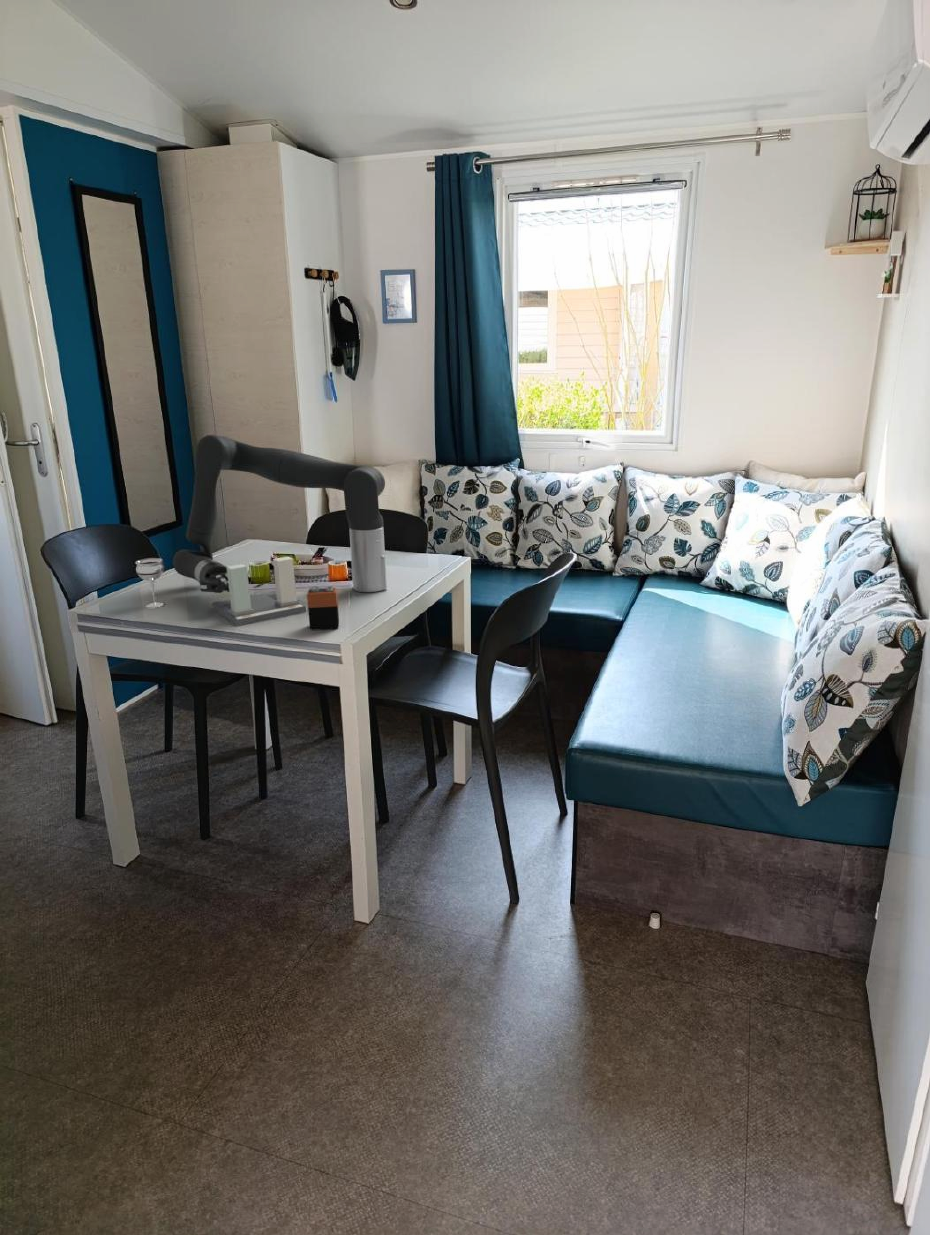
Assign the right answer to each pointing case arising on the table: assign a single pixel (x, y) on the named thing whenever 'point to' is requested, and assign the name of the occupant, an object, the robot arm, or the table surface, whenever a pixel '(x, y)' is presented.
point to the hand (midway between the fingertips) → (236, 590)
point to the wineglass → (150, 573)
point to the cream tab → (285, 582)
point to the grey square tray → (258, 609)
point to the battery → (323, 608)
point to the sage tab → (239, 590)
